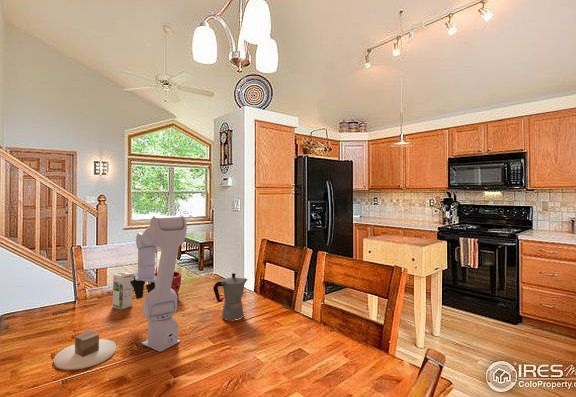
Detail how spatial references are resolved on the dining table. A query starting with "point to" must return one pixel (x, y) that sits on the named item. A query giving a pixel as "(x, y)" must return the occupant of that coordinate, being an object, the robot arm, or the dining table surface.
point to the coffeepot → (231, 297)
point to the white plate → (74, 361)
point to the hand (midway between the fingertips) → (145, 300)
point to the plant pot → (175, 281)
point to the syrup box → (122, 290)
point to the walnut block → (86, 343)
